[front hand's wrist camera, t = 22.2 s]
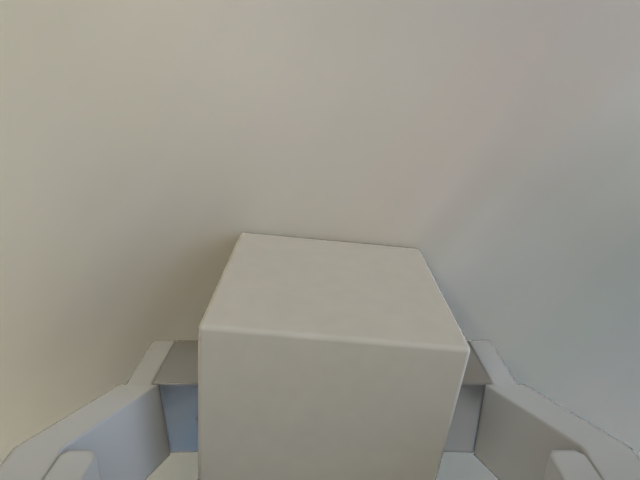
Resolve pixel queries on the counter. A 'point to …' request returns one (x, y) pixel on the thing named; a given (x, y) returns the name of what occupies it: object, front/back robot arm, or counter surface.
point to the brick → (326, 364)
